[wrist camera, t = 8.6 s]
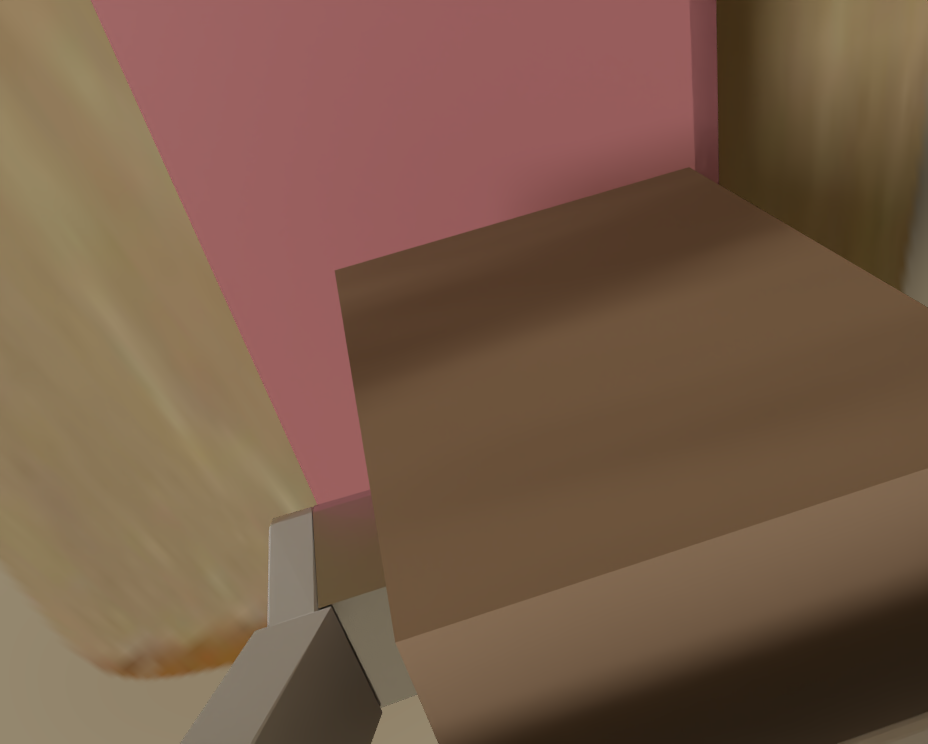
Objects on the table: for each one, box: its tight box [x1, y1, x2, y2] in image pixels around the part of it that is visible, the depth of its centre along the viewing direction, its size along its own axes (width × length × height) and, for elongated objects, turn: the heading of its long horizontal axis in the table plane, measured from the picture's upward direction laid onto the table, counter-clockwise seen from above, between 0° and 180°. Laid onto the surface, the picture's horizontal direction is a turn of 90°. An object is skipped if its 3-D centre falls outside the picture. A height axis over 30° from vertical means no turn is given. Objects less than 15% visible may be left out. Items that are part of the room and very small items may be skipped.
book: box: [91, 0, 719, 504], centre depth 16 cm, size 14×10×4 cm
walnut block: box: [335, 167, 928, 744], centre depth 9 cm, size 5×5×6 cm
